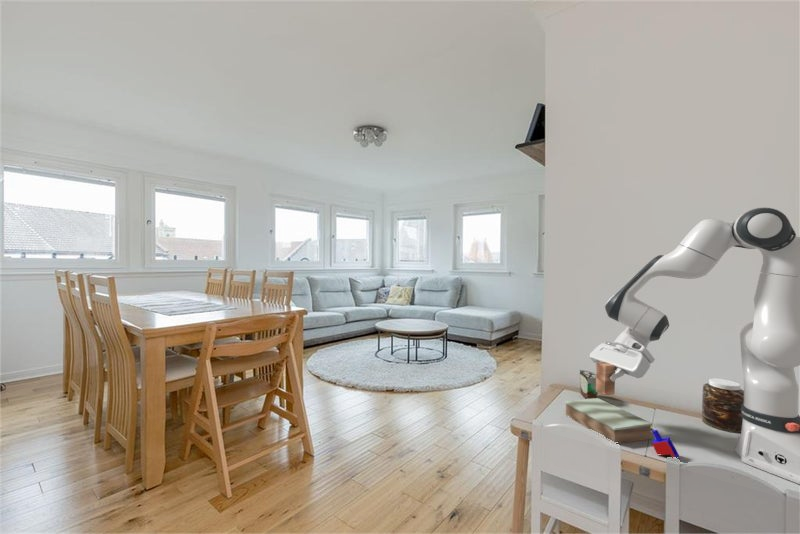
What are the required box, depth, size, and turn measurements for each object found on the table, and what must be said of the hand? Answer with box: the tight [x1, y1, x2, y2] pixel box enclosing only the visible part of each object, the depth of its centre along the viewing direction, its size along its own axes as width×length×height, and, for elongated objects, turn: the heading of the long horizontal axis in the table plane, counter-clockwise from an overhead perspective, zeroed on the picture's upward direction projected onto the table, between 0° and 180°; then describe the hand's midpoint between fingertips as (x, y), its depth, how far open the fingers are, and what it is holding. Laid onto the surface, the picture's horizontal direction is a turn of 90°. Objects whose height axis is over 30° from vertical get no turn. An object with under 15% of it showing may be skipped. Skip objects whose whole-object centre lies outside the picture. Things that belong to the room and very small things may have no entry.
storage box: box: [564, 397, 653, 444], centre depth 127 cm, size 23×15×5 cm, turn 14°
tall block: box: [595, 362, 616, 396], centre depth 126 cm, size 4×4×10 cm
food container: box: [579, 369, 599, 399], centre depth 152 cm, size 12×6×10 cm, turn 168°
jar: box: [701, 377, 744, 434], centre depth 128 cm, size 12×12×15 cm
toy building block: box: [651, 429, 680, 458], centre depth 108 cm, size 4×4×8 cm
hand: (603, 377), depth 126 cm, fingers closed on tall block, 4 cm apart
